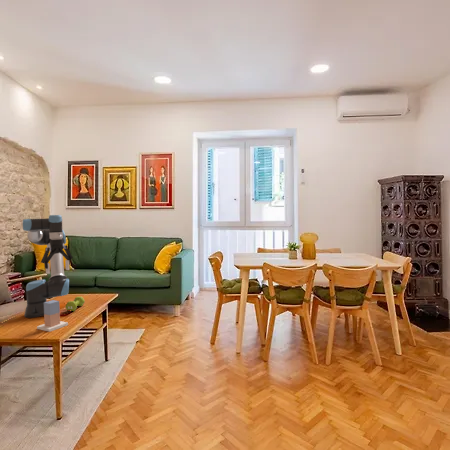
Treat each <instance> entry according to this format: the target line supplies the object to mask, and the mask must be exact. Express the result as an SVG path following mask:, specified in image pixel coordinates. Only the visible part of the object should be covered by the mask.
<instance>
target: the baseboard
mask: <svg viewBox="0 0 450 450" xmlns="http://www.w3.org/2000/svg"><path fill="white" fill-rule="evenodd" d="M66 326H69V322H67V321H62V320H60V324H58V325H55V326H52V327H49V326H45V323H43V324H40V325H38V326H36V329H37V330H41V331H45V332H50V333H51V332H54V331H56V330H58V329H61V328H64V327H66Z"/></svg>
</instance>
